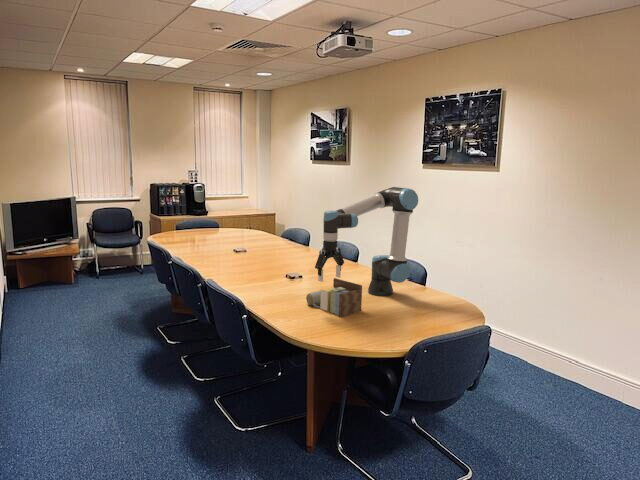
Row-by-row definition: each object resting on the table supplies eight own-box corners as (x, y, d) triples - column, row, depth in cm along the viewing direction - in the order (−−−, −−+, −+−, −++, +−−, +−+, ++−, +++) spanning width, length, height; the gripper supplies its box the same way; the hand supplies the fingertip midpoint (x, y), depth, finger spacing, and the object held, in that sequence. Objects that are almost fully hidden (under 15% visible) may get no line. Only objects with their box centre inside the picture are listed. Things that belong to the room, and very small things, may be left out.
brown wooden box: (334, 302, 269) (335, 278, 266) (361, 310, 255) (362, 285, 252) (313, 308, 257) (313, 283, 255) (340, 317, 243) (341, 291, 241)
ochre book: (330, 306, 261) (330, 286, 259) (337, 308, 258) (338, 288, 256) (320, 309, 256) (320, 289, 254) (327, 311, 252) (327, 291, 250)
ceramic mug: (305, 304, 264) (305, 290, 263) (318, 302, 268) (318, 289, 267) (314, 309, 255) (314, 296, 254) (327, 307, 259) (328, 294, 258)
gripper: (341, 236, 261) (340, 274, 265) (308, 241, 244) (307, 281, 248) (351, 238, 256) (350, 276, 260) (318, 243, 239) (318, 284, 242)
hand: (329, 279), depth 254 cm, fingers open, 13 cm apart
